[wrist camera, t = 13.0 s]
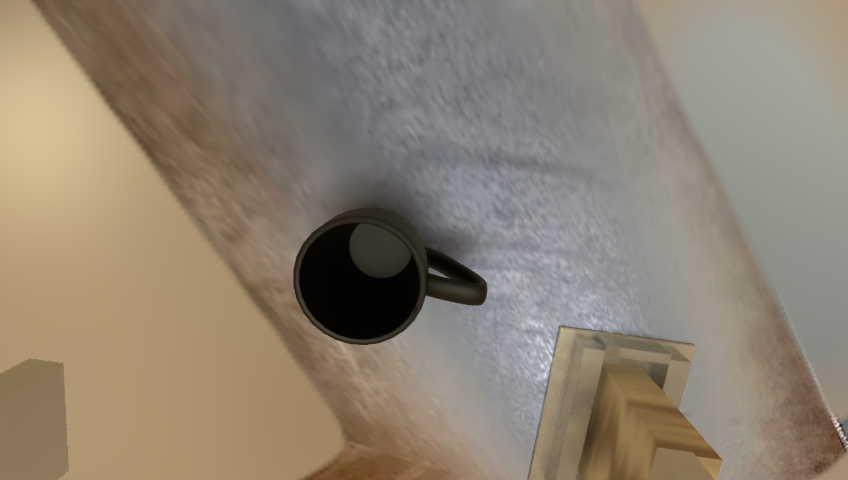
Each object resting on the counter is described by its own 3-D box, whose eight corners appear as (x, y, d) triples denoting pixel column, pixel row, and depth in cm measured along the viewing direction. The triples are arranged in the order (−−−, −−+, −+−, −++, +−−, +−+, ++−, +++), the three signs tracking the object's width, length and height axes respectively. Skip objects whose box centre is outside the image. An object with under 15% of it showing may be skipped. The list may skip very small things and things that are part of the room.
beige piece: (559, 325, 37) (568, 339, 35) (693, 344, 37) (711, 359, 35) (527, 480, 40) (533, 503, 38) (650, 498, 40) (664, 522, 38)
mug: (467, 311, 37) (474, 368, 28) (324, 285, 37) (285, 333, 28) (487, 215, 36) (502, 241, 26) (337, 188, 36) (300, 204, 26)
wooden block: (600, 362, 37) (662, 451, 27) (642, 368, 37) (722, 459, 27) (576, 466, 40) (625, 587, 29) (616, 471, 39) (679, 595, 29)
